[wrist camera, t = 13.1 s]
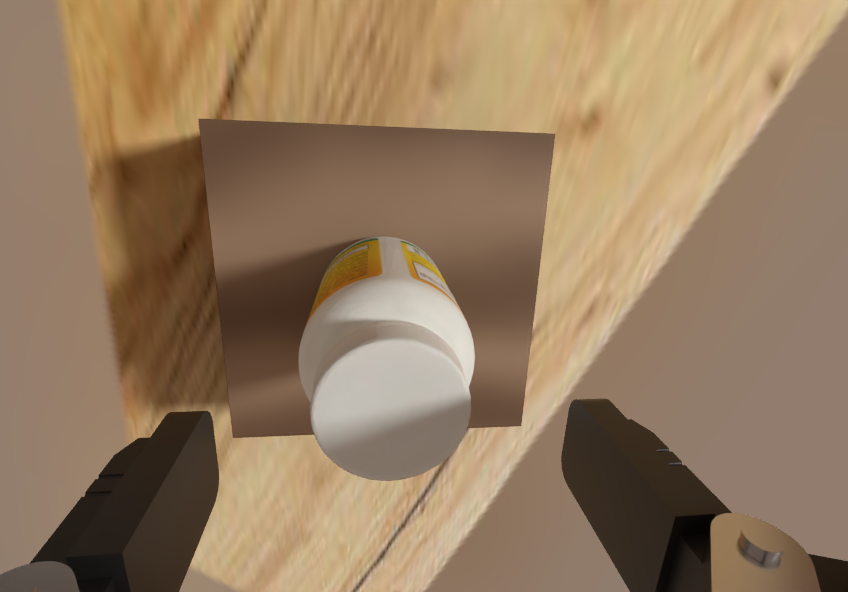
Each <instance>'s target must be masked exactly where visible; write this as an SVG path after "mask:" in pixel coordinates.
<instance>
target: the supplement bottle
mask: <svg viewBox="0 0 848 592" xmlns="http://www.w3.org/2000/svg"><path fill="white" fill-rule="evenodd" d="M474 361H475V352H474V344H473V338H472V335H471V331H470V329H469V326H468V324H467V321H466V319H465V317H464V315H463V313H462V311H461V310H460V308H459V306H458V304H457V302H456V300H455V299H454V297H453V295H452V293H451V292H450V290H449V288H448V286H447V284H446V283H445V280H444V279H443V277H442V275H441V273H440V271H439V270H438V268H437V267H436V265H435V264H434V262H433V261H432V259H431V258H430V257H429V256H428V255H427V254H426V253H425V252H424V251H423V250H421V249H420V248H418V247H417V246H415V245H414V244H412V243H410V242H408V241H405V240H402V239H399V238H394V237H384V236H381V237H371V238H367V239H363V240H361V241H358V242H356V243H354V244H352V245H351V246H349V247H347V248H346V249H345V250H343V251H342V252H341V253H340V254H338V255H337V256H336V257H335V259H334V260H333V261H332V262H331V263H330V265H329V266H328V268H327V270H326V272H325V274H324V276H323V278H322V281H321V284H320V287H319V290H318V293H317V296H316V299H315V302H314V304H313V307H312V310H311V313H310V316H309V318H308V321H307V324H306V327H305V329H304V332H303V336H302V339H301V343H300V348H299V374H300V379H301V383H302V386H303V388H304V391H305V393H306V395H307V397H308V399H309V401H310V402H311V404H310V417H311V426H312V430H313V432H314V435H315V437H316V440H317V442H318V444H319V446H320V447H321V449H322V450H323V452H324V453H325V454H326V455H327V456H328V457H329V458H330V459H331V460H332V461H333V462H334V463H335V464H337V465H338V466H339V467H341V468H343V469H344V470H346V471H348V472H350V473H352V474H354V475H357V476H360V477H363V478H367V479H371V480H381V481H392V480H401V479H406V478H411V477H414V476H417V475H419V474H422V473H424V472H426V471H428V470H430V469H432V468H433V467H435V466H437V465H439V464H440V463H441V462H442V461H444V460H445V459H446V458H447V457H448V456H449V455H450V454H451V453H452V452H453V451H454V450H455V449H456V448H457V446H458V445H459V443H460V441H461V440H462V438H463V436H464V434H465V432H466V429H467V427H468V424H469V420H470V415H471V395H470V391H469V385H470V382H471V379H472V375H473V370H474Z"/></svg>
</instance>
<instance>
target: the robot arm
mask: <svg viewBox="0 0 848 592" xmlns="http://www.w3.org/2000/svg"><path fill="white" fill-rule="evenodd" d="M561 458H562V459H561V461H562V471H563V475H564V478H565V481H566V483H567V485H568V487H569V488H570V490H571V492H572V494H573V495H574V497H575V499H576V500H577V502H578V504H579V505H580V507H581V509H582V511H583V512H584V514H585V515H586V517H587V519H588V521H589V522H590V524H591V526H592V527H593V529H594V531H595V533H596V534H597V536H598V538H599V539H600V541H601V543H602V544H603V546H604V548H605V549H606V551H607V553H608V555H609V556H610V558H611V560H612V562H613V563H614V565H615V567H616V568H617V570H618V572H619V573H620V575H621V577H622V579H623V580H624V582H625V584H626V585H627V587H628V589H629V590H630V592H848V561H843V560H837V559H832V558H827V557H822V556H817V555H811V554H808V553H807V552H806V551H805V550H804V548H803V547H802V546H801V545H800V544H799V543H798V542H797V541H795V540H794V539H793V538H792V537H791V536H789V535H788V534H787V533H785V532H784V531H782V530H781V529H779V528H777V527H775V526H773V525H771V524H770V523H768V522H765V521H763V520H761V519H758V518H755V517H752V516H749V515H744V514H738V513H732V512H731V511H730V510H728V508H727V507H726V506H725V505H724V504H723V503H722V502H721V501H720V500H719V499H718V498H717V497H716V496H715V495H714V494H713V493H712V492H711V491H710V490H709V489H708V488H707V487H706V486H705V485H704V484H703V483H702V482H701V481H700V480H699V479H698V478H697V477H696V476H695V475H694V474H693V473H692V472H691V471H690V470H689V469H688V468H687V467H686V466H685V465H682V461H681V460H679V458H678V457H677V456H676V455H675V454H674V453H673V452H669V448H668V447H667V446H666V445H665V444H664V443H663V442H662V441H661V440H660V439H659V438H658V437H657V436H656V435H655V434H654V433H653V432H651V431H650V430H648V429H646V428H645V427H643V426H641V425H640V424H638V423H636V422H635V421H633V420H632V419H631V420H627V418H626V417H625V416H624V415H623V414H622V413H621V412H620V411H619V410H618V409H617V408H616V407H615V406H614V405H613V404H612V403H611V402H610V401H609V400H608V399H582V400H581V399H580V400H574V401H573V402H572V403H571V405H570V408H569V413H568V419H567V425H566V432H565V437H564V444H563V450H562V457H561ZM218 486H219V469H218V461H217V453H216V445H215V437H214V429H213V421H212V416H211V414H210V412H208V411H191V412H170V413H168V414H167V415H166V416H165V417H164V419H163V420H162V422H161V423H160V425H159V426H158V427H157V429H156V430H155V432H154V433H153V434H152V436H151V437H150V438H138V439H137V440H135V441H134V442H132V443H131V444H130V445H128V446H127V447H125V448H124V449H123V450H121V451H120V452H119V453H117V454H116V455H114V456H113V458H112V459H111V460H110V462H109V463H108V464H107V465H106V467H105V468H104V469H103V471H102V472H101V473H100V474H99V478H98V479H96V480H95V481H94V482H93V483H92V485H91V486H90V487H89V488H88V490H87V491H86V494H85V497H81V499H80V500H79V501H78V502H77V504H76V505H75V507H74V508H73V509H72V510H71V511H70V513H69V514H68V515H67V516H66V518H65V519H64V520H63V522H62V523H61V524H60V525H59V527H58V528H57V529H56V531H55V532H54V533H53V534H52V536H51V537H50V538H49V539H48V541H47V542H46V543H45V545H44V546H43V547H42V548H41V550H40V551H39V552H38V554H37V555H36V556H35V557H34V559H33V560H32V561H31V562H30V564H27V565H24V566H20V567H17V568H14V569H12V570H9V571H7V572H5V573H3V574H1V575H0V592H179V590H180V588H181V585H182V583H183V580H184V578H185V575H186V573H187V570H188V568H189V566H190V563H191V561H192V558H193V556H194V553H195V551H196V548H197V546H198V543H199V541H200V538H201V536H202V534H203V531H204V529H205V526H206V524H207V521H208V519H209V516H210V514H211V511H212V509H213V506H214V504H215V501H216V497H217V492H218Z"/></svg>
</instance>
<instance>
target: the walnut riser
mask: <svg viewBox="0 0 848 592" xmlns="http://www.w3.org/2000/svg"><path fill="white" fill-rule="evenodd" d="M199 129H200V138H201V147H202V156H203V165H204V175H205V184H206V193H207V202H208V212H209V221H210V230H211V239H212V249H213V258H214V267H215V276H216V285H217V295H218V304H219V313H220V322H221V332H222V341H223V350H224V359H225V369H226V378H227V387H228V396H229V405H230V415H231V424H232V433H233V438H242V437H266V436H290V435H314V432H313V430H312V426H311V417H310V404H311V402H310V401H309V399H308V397H307V395H306V393H305V391H304V388H303V386H302V383H301V379H300V374H299V348H300V343H301V339H302V336H303V332H304V329H305V327H306V324H307V321H308V318H309V316H310V313H311V310H312V307H313V304H314V302H315V299H316V296H317V293H318V290H319V287H320V284H321V281H322V278H323V276H324V274H325V272H326V270H327V268H328V266H329V265H330V263H331V262H332V261H333V260H334V259H335V257H336V256H337V255H338V254H340V253H341V252H342V251H343V250H345V249H346V248H347V247H349V246H351V245H352V244H354V243H356V242H358V241H361V240H363V239H367V238H371V237H381V236H384V237H394V238H399V239H402V240H405V241H408V242H410V243H412V244H414V245H415V246H417V247H418V248H420V249H421V250H423V251H424V252H425V253H426V254H427V255H428V256H429V257H430V258H431V259H432V261H433V262H434V264H435V265H436V267H437V268H438V270H439V271H440V273H441V275H442V277H443V279H444V280H445V283H446V284H447V286H448V288H449V290H450V292H451V293H452V295H453V297H454V299H455V300H456V302H457V304H458V306H459V308H460V310H461V311H462V313H463V315H464V317H465V319H466V321H467V324H468V326H469V329H470V331H471V335H472V338H473V344H474V352H475V361H474V370H473V375H472V379H471V382H470V385H469V391H470V395H471V415H470V420H469V424H468V427H467V428H484V427H509V426H521V422H522V414H523V405H524V397H525V388H526V379H527V371H528V362H529V354H530V345H531V337H532V328H533V319H534V311H535V302H536V294H537V285H538V277H539V268H540V259H541V251H542V242H543V234H544V225H545V217H546V208H547V199H548V191H549V182H550V174H551V165H552V157H553V148H554V139H555V134H547V133H523V132H499V131H476V130H452V129H428V128H405V127H381V126H358V125H334V124H310V123H287V122H263V121H239V120H216V119H199Z"/></svg>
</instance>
